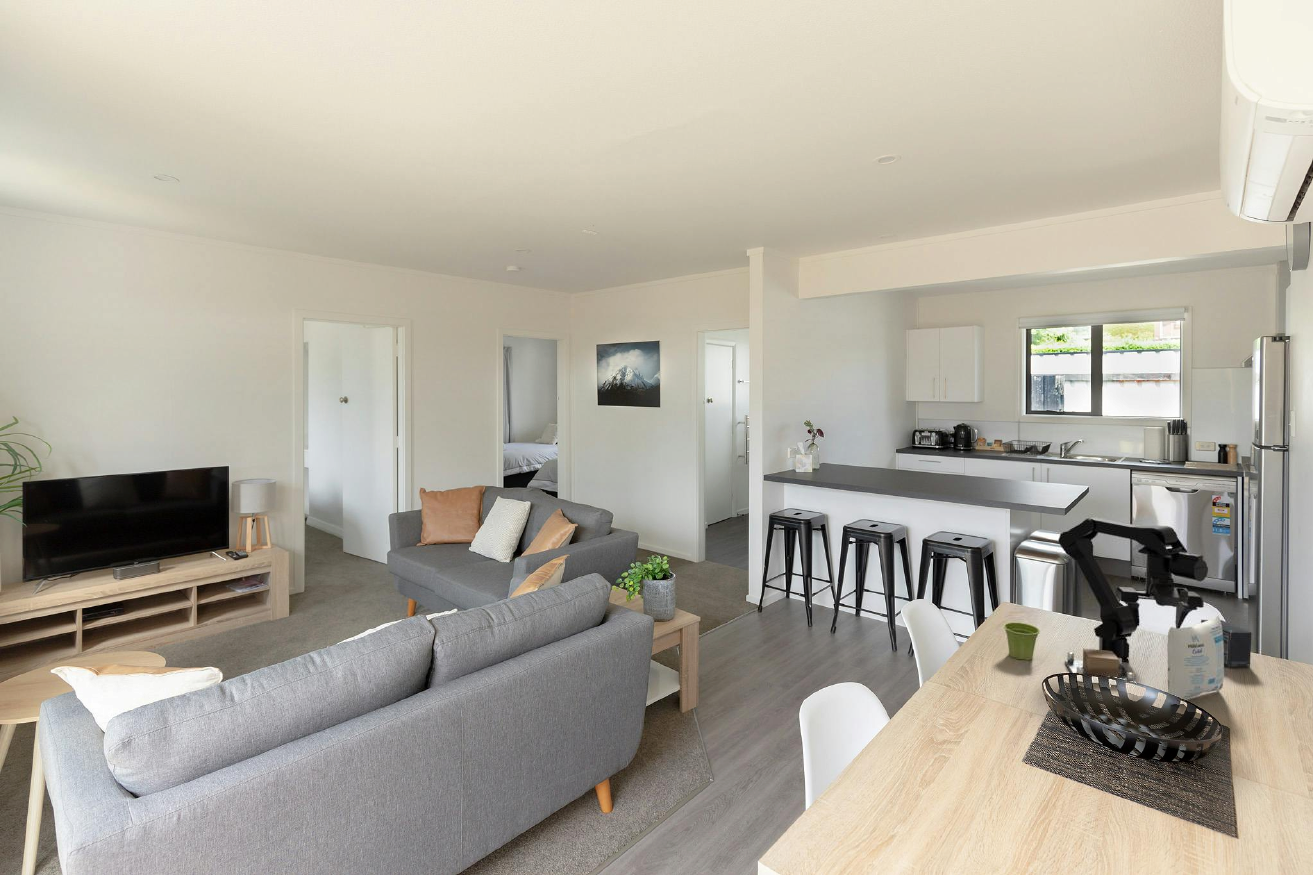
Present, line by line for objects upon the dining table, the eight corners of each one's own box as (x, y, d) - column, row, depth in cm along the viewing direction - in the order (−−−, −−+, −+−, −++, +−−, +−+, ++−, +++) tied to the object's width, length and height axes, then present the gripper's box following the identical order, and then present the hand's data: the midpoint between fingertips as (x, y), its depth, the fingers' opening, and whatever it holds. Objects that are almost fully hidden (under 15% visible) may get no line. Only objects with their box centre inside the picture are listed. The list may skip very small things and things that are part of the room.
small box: (1252, 668, 184) (1253, 631, 184) (1228, 668, 184) (1230, 632, 184) (1220, 653, 195) (1222, 618, 194) (1198, 653, 195) (1199, 619, 194)
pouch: (1237, 698, 167) (1240, 621, 166) (1184, 711, 162) (1186, 631, 160) (1203, 685, 175) (1206, 612, 173) (1151, 697, 169) (1153, 621, 168)
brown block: (1118, 677, 178) (1118, 659, 178) (1088, 674, 181) (1088, 656, 181) (1111, 668, 184) (1112, 651, 184) (1082, 665, 187) (1083, 648, 186)
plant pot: (1045, 657, 195) (1045, 628, 195) (1029, 665, 190) (1029, 636, 189) (1013, 647, 203) (1013, 620, 202) (997, 655, 198) (997, 626, 197)
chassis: (1075, 681, 179) (1076, 669, 179) (1064, 662, 191) (1064, 651, 191) (1137, 688, 174) (1137, 675, 174) (1121, 668, 186) (1121, 656, 186)
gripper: (1128, 577, 177) (1126, 633, 178) (1213, 582, 170) (1211, 641, 171) (1115, 566, 187) (1114, 620, 188) (1195, 571, 181) (1193, 626, 182)
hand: (1157, 627), depth 182 cm, fingers open, 9 cm apart
